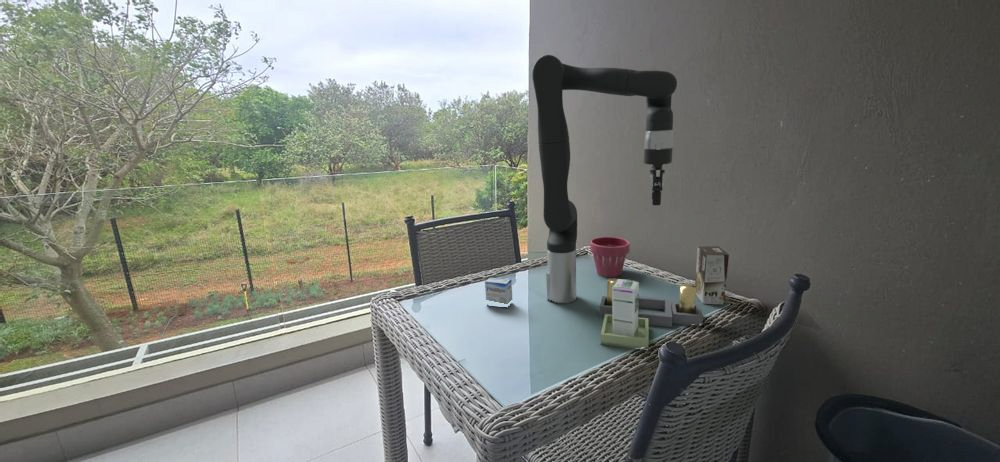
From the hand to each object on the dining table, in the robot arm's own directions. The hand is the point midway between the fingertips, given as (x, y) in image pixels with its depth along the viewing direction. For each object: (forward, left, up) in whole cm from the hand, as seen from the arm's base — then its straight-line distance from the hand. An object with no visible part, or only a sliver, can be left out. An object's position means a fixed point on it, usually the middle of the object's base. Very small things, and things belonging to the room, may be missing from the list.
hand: (656, 202), depth 113 cm
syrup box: (-7, -24, -32) cm, 40 cm away
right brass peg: (+9, -10, -32) cm, 35 cm away
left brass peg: (-11, -10, -32) cm, 35 cm away
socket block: (-1, -10, -32) cm, 34 cm away
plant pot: (-15, +22, -32) cm, 42 cm away
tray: (-7, -24, -32) cm, 41 cm away
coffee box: (+17, +6, -32) cm, 37 cm away
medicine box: (-47, -14, -32) cm, 59 cm away
